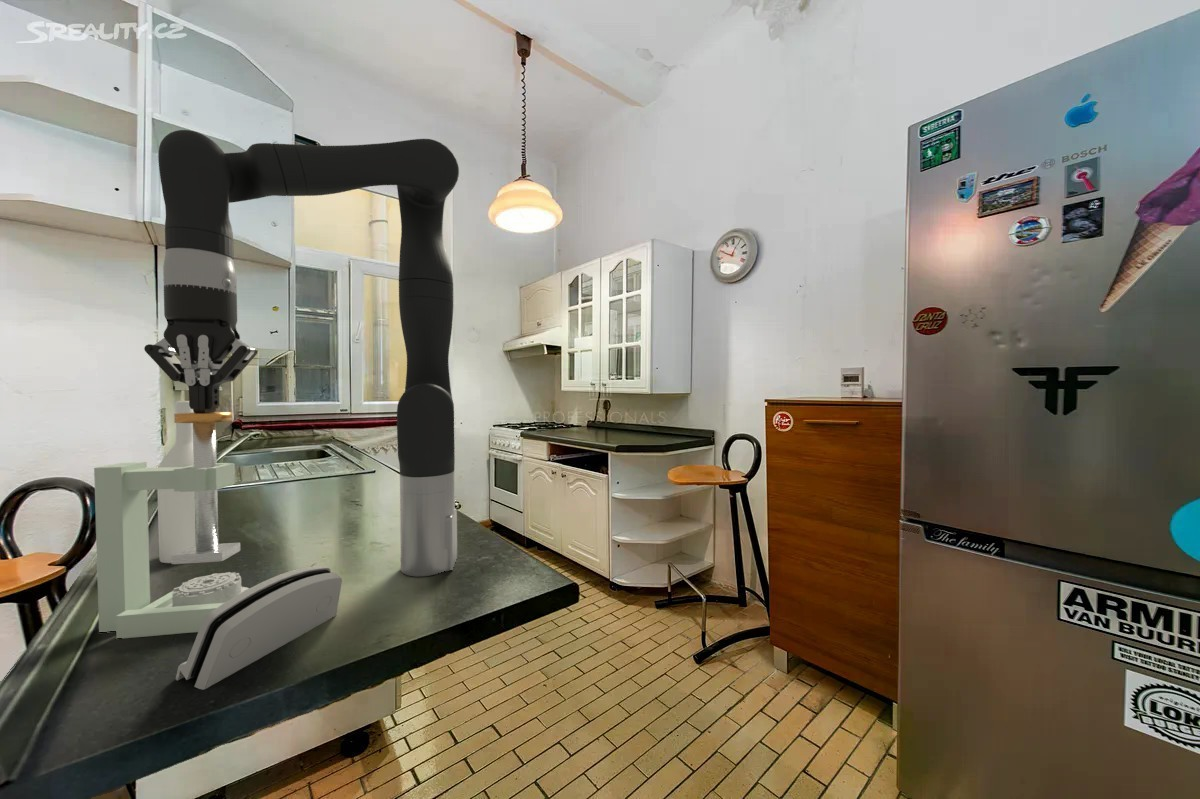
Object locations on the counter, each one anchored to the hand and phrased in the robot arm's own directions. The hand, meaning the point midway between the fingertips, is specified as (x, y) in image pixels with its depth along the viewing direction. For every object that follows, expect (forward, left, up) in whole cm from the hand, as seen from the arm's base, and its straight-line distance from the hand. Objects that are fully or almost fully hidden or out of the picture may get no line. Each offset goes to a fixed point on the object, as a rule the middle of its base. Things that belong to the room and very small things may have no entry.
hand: (204, 412), depth 61 cm
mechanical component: (+2, -2, -30) cm, 30 cm away
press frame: (+2, -3, -29) cm, 29 cm away
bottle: (+20, -27, -29) cm, 45 cm away
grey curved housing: (-13, +9, -29) cm, 33 cm away
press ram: (0, 0, -20) cm, 20 cm away
